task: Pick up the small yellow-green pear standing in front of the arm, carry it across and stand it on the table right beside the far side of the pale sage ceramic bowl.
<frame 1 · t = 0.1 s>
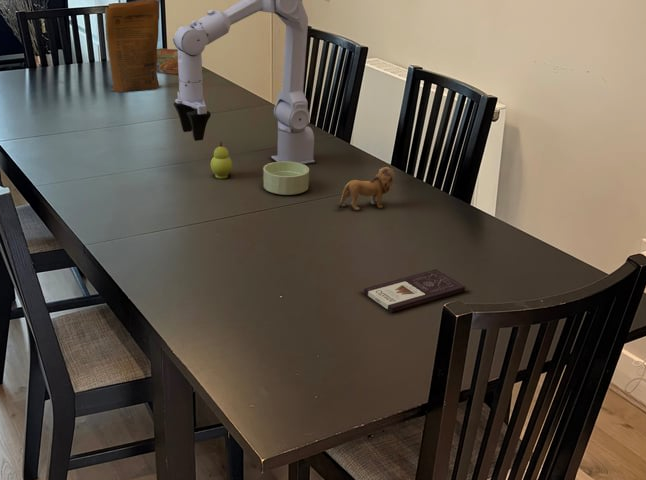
hand: (192, 135, 209), 10 cm above the table, tool pointing down, fingers open, 7 cm apart
pear: (221, 176, 214), on the table
chocolate bar: (414, 293, 163), on the table
lion figurine: (365, 206, 200), on the table
pancake mix bag: (137, 90, 281), on the table
tin: (172, 73, 302), on the table
bowl: (285, 188, 208), on the table
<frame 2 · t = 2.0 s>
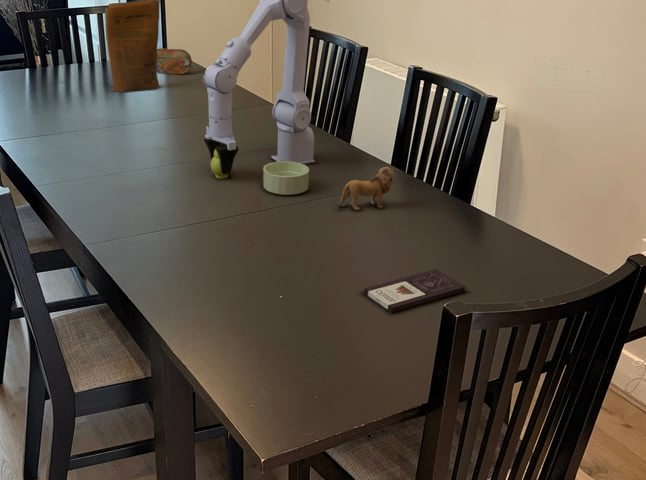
hand: (221, 169, 213), 2 cm above the table, tool pointing down, fingers closed on pear, 5 cm apart
pear: (221, 176, 214), on the table, touching gripper
everything else where it was.
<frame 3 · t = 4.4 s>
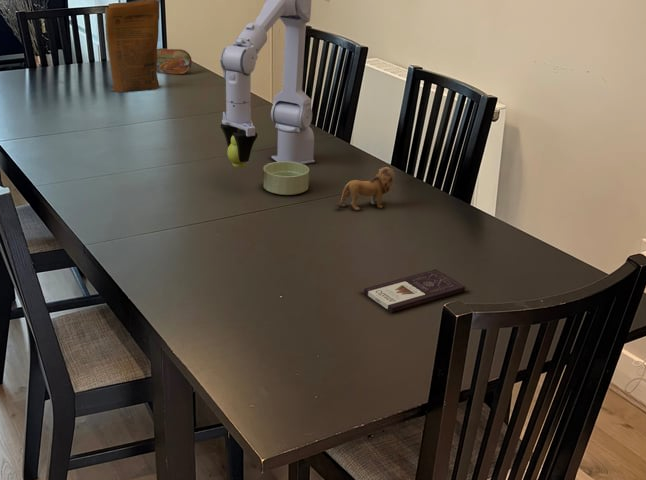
hand: (238, 157, 201), 8 cm above the table, tool pointing down, fingers closed on pear, 5 cm apart
pear: (238, 164, 202), point 7 cm above the table, touching gripper
everything else where it was.
when the fingers open (2 cm above the table, at t = 6.6 s): pear stays where it is, on the table.
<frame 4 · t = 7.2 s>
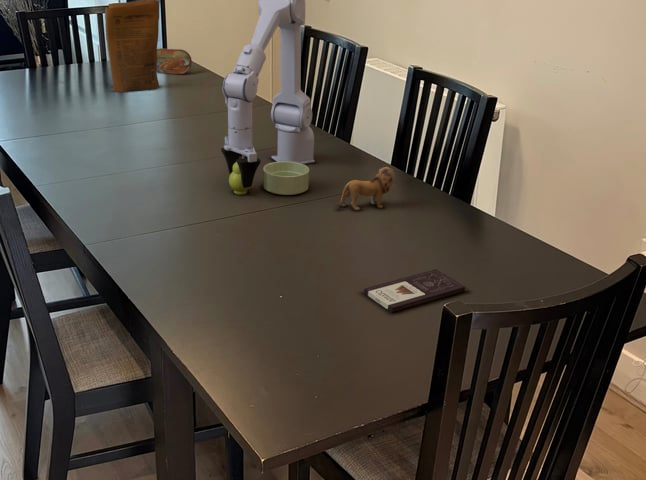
hand: (240, 181, 203), 3 cm above the table, tool pointing down, fingers open, 7 cm apart
pear: (240, 192, 205), on the table
everything else where it was.
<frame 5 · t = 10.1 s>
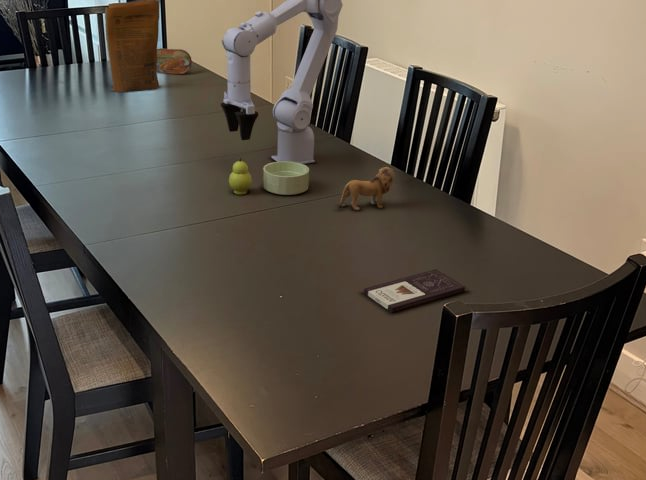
hand: (239, 135, 212), 9 cm above the table, tool pointing down, fingers open, 7 cm apart
nothing on the table moved.
at the end: pear inside the target area on the table beside the bowl (0.4 cm from its centre), on the table; pear 11.8 cm from the bowl (horizontally); pear tilted 0° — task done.
